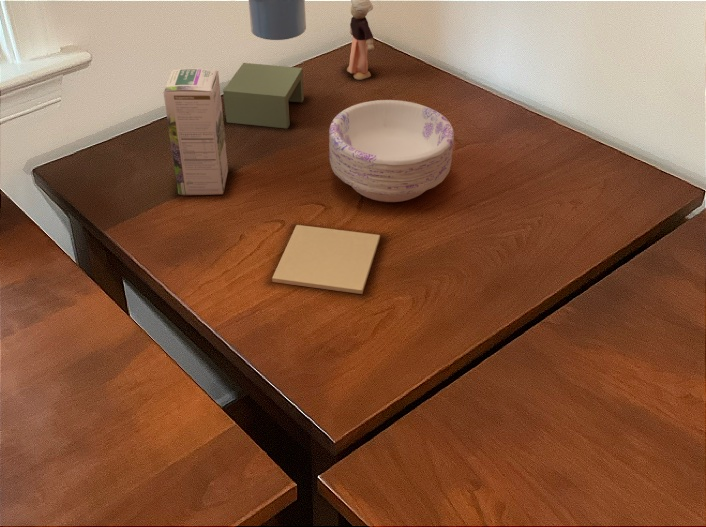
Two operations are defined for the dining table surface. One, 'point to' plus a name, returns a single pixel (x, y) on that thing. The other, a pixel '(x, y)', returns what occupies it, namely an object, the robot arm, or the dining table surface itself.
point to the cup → (277, 18)
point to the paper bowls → (390, 149)
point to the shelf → (263, 94)
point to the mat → (327, 259)
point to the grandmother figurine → (360, 39)
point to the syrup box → (196, 131)
